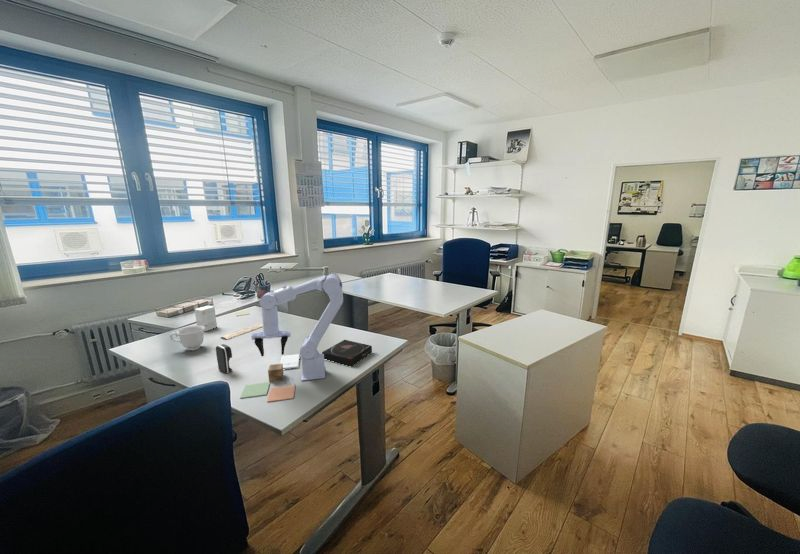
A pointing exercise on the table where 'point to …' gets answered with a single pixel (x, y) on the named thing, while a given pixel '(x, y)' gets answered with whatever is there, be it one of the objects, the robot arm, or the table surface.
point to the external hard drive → (290, 361)
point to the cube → (275, 372)
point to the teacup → (190, 337)
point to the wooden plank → (243, 331)
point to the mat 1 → (255, 390)
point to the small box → (206, 317)
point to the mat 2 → (281, 393)
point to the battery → (223, 357)
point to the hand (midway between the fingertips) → (272, 354)
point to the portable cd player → (347, 352)
